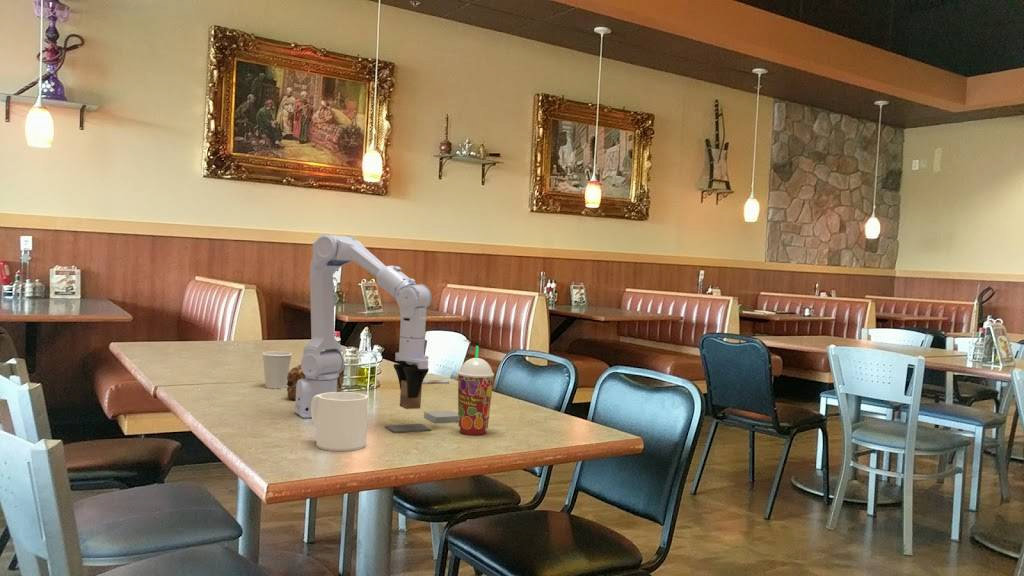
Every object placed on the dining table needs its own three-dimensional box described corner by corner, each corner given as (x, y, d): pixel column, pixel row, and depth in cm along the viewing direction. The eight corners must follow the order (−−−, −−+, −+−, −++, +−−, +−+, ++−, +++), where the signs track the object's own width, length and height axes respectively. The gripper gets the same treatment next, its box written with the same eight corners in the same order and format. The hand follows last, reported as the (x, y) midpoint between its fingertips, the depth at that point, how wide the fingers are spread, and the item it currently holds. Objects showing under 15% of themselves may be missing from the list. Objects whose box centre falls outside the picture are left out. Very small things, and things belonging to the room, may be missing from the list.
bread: (308, 390, 224) (310, 355, 224) (344, 392, 223) (346, 358, 223) (284, 401, 206) (285, 363, 205) (323, 404, 205) (325, 366, 204)
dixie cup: (254, 386, 225) (256, 352, 224) (280, 384, 231) (281, 350, 231) (271, 390, 219) (272, 355, 219) (296, 388, 226) (298, 353, 225)
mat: (394, 433, 174) (394, 431, 174) (384, 427, 179) (384, 425, 179) (431, 430, 179) (431, 428, 179) (420, 425, 184) (420, 423, 184)
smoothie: (448, 433, 177) (453, 345, 176) (463, 426, 184) (467, 343, 184) (482, 438, 174) (487, 349, 173) (496, 431, 182) (500, 346, 181)
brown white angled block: (405, 408, 177) (407, 382, 176) (399, 406, 180) (401, 380, 179) (448, 407, 182) (450, 382, 182) (442, 404, 185) (443, 379, 185)
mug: (375, 444, 163) (377, 395, 163) (347, 454, 154) (349, 402, 153) (325, 436, 168) (327, 388, 167) (295, 445, 159) (297, 395, 158)
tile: (435, 417, 187) (463, 415, 191) (424, 411, 193) (451, 410, 197) (435, 425, 187) (463, 423, 191) (423, 419, 193) (451, 417, 197)
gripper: (441, 340, 174) (438, 400, 175) (415, 334, 187) (413, 390, 187) (412, 340, 171) (409, 402, 171) (388, 334, 183) (385, 391, 183)
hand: (409, 396), depth 179 cm, fingers closed on brown white angled block, 4 cm apart
